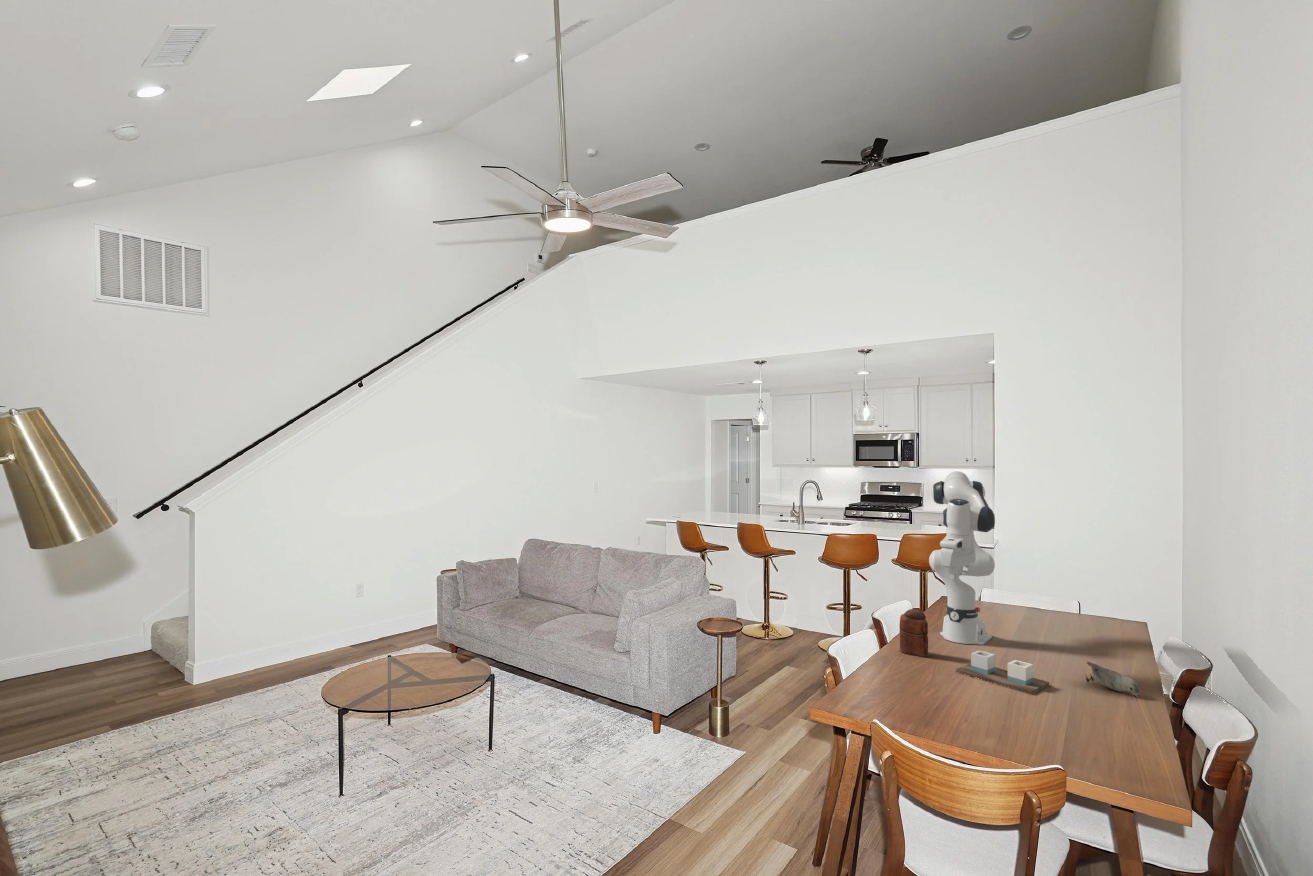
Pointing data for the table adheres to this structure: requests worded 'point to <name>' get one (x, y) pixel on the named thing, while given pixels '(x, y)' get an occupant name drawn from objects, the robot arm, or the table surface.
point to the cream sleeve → (1020, 672)
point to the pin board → (1004, 679)
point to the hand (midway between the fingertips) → (959, 576)
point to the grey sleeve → (983, 662)
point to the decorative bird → (1113, 679)
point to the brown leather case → (914, 633)
